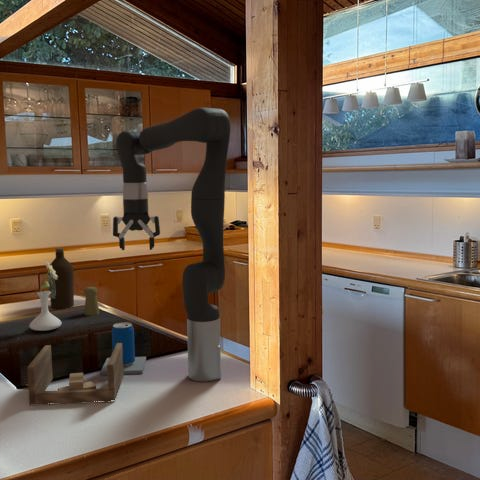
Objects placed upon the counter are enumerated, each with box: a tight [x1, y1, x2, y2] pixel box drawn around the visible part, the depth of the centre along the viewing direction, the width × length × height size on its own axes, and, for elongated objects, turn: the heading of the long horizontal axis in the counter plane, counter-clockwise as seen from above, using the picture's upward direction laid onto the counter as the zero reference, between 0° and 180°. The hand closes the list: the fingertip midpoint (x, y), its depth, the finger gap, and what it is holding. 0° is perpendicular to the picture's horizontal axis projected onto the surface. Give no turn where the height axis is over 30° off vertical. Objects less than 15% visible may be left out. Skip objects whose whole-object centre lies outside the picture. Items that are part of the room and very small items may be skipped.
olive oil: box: [47, 247, 75, 310], centre depth 253 cm, size 11×11×25 cm
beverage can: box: [111, 321, 136, 366], centre depth 178 cm, size 6×6×12 cm
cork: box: [83, 286, 100, 317], centre depth 241 cm, size 6×6×11 cm
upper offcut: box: [68, 372, 84, 390], centre depth 158 cm, size 7×4×2 cm, turn 14°
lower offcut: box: [57, 380, 97, 391], centre depth 158 cm, size 9×4×2 cm, turn 122°
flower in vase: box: [29, 261, 63, 332], centre depth 219 cm, size 13×11×25 cm
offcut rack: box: [26, 343, 125, 406], centre depth 160 cm, size 22×18×10 cm
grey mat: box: [100, 356, 147, 376], centre depth 178 cm, size 12×12×1 cm
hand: (137, 249), depth 184 cm, fingers open, 8 cm apart
